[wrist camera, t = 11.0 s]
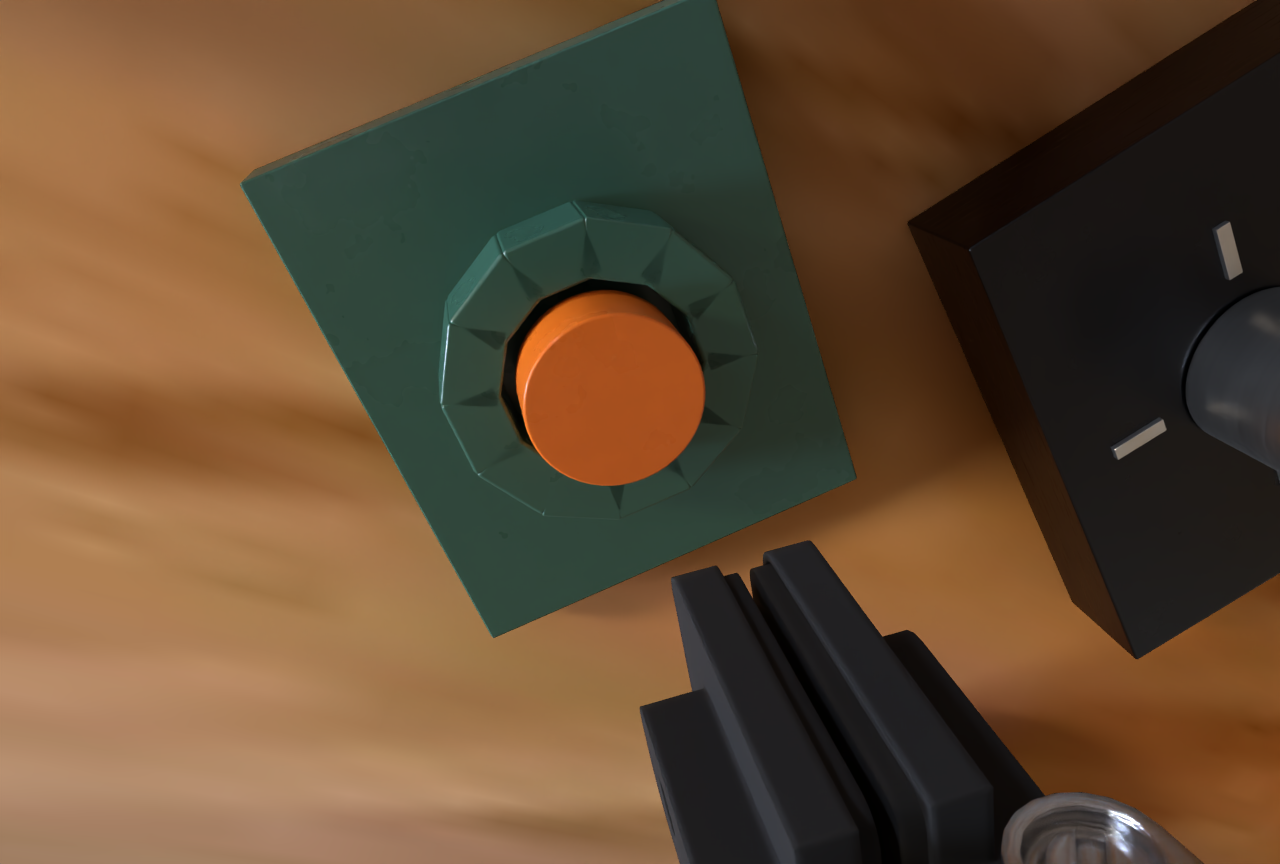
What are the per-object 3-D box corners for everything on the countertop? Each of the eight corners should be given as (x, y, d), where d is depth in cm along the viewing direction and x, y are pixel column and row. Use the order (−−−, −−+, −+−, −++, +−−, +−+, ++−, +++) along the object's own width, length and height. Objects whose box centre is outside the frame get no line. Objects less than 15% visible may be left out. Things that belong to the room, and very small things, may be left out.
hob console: (905, 221, 23) (972, 251, 21) (1295, -26, 23) (1419, -31, 20) (1071, 601, 30) (1140, 664, 27) (1380, 413, 29) (1484, 456, 26)
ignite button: (486, 331, 19) (492, 359, 18) (650, 261, 19) (671, 283, 18) (554, 476, 21) (565, 514, 19) (705, 410, 21) (729, 443, 19)
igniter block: (252, 170, 20) (221, 200, 17) (691, -12, 20) (741, -15, 17) (488, 601, 25) (498, 685, 22) (831, 451, 26) (889, 512, 22)
